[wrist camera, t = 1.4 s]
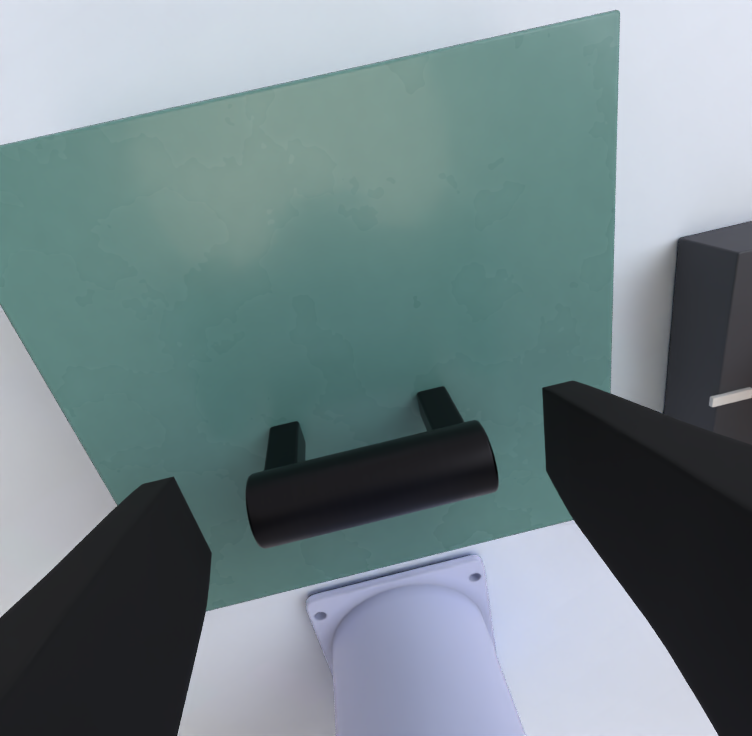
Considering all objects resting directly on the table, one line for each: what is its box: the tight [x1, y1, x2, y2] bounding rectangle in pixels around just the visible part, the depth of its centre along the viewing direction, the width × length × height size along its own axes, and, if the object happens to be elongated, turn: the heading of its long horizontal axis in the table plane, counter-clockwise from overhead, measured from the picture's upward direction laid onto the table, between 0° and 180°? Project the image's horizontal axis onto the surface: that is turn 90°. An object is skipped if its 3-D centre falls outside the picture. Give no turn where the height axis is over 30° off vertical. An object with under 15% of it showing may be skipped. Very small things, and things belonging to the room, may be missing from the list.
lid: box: [0, 10, 620, 611], centre depth 10 cm, size 12×12×4 cm
